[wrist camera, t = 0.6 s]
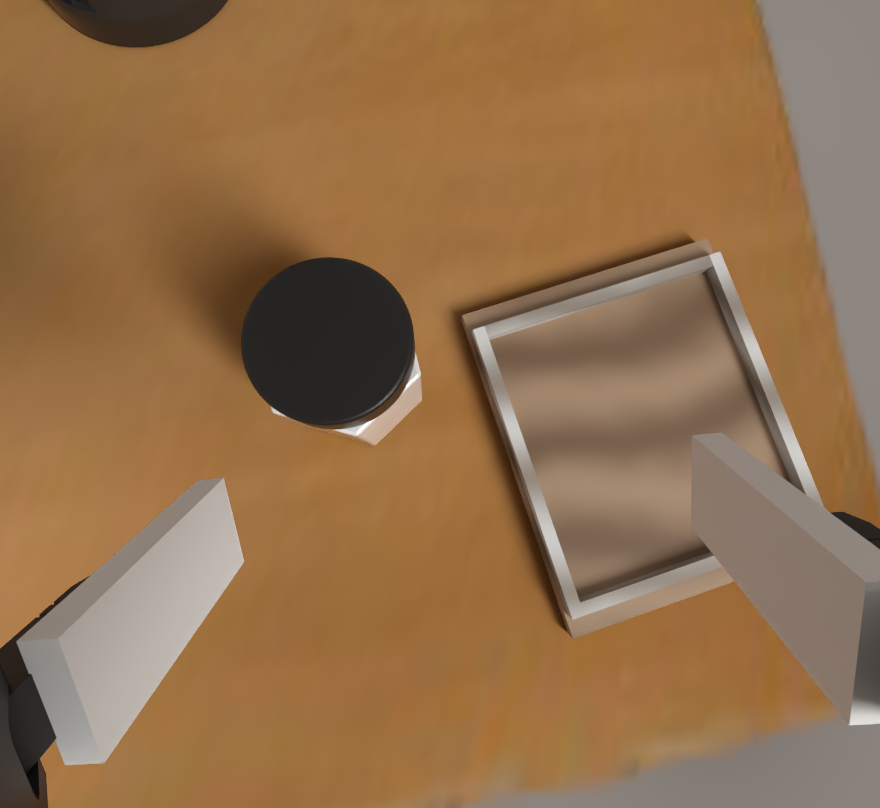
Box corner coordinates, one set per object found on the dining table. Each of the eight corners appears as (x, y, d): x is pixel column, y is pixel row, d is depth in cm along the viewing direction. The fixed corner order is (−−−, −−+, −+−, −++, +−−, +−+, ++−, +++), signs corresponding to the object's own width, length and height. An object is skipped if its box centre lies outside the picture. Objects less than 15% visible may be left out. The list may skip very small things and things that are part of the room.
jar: (365, 296, 38) (337, 215, 26) (447, 378, 37) (456, 334, 25) (270, 384, 37) (195, 342, 25) (352, 470, 36) (315, 468, 25)
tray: (461, 320, 38) (463, 310, 36) (699, 245, 39) (715, 231, 37) (568, 633, 35) (577, 643, 33) (819, 543, 36) (844, 548, 34)
